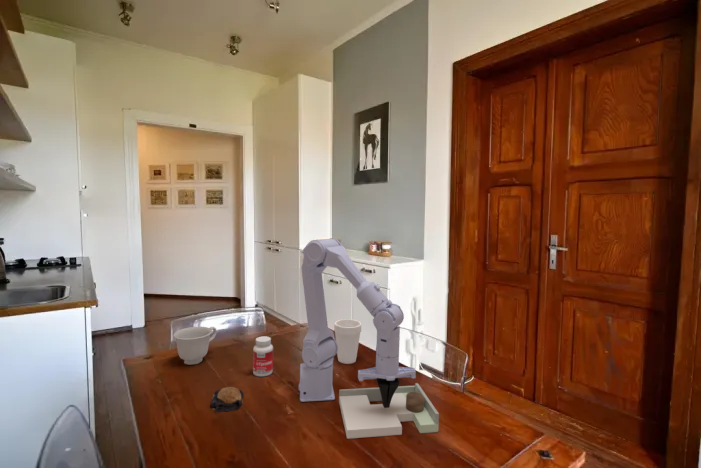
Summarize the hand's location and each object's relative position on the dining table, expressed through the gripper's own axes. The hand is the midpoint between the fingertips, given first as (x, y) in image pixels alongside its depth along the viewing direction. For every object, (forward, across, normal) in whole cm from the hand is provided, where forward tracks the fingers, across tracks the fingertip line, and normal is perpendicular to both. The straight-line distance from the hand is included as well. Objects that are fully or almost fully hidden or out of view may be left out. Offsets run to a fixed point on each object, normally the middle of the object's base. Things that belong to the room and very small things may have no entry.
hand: (385, 405), depth 91 cm
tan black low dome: (+4, -41, +12) cm, 43 cm away
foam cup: (+3, -5, +35) cm, 35 cm away
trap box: (+3, 0, 0) cm, 3 cm away
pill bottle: (+3, -33, +28) cm, 43 cm away
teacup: (+3, -56, +40) cm, 69 cm away
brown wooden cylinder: (+1, +8, 0) cm, 8 cm away
